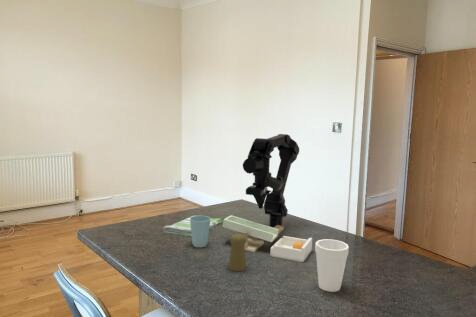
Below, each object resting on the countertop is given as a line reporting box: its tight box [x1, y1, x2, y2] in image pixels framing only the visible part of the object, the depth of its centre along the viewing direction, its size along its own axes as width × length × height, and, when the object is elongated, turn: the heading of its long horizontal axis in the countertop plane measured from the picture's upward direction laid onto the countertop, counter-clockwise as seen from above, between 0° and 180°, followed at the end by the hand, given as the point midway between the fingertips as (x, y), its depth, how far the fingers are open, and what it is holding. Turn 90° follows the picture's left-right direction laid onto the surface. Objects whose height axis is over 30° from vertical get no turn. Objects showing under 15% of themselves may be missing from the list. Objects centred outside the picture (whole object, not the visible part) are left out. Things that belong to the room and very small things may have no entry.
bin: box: [269, 235, 313, 263], centre depth 138 cm, size 12×12×5 cm
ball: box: [293, 242, 303, 250], centre depth 137 cm, size 4×4×4 cm
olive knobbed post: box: [227, 233, 247, 272], centre depth 125 cm, size 6×6×11 cm
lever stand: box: [241, 232, 265, 253], centre depth 145 cm, size 11×8×7 cm
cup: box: [190, 215, 211, 248], centre depth 144 cm, size 8×8×10 cm
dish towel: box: [162, 214, 223, 238], centre depth 166 cm, size 17×23×4 cm
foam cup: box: [314, 238, 350, 293], centre depth 113 cm, size 10×9×13 cm
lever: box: [222, 215, 285, 243], centre depth 149 cm, size 16×20×3 cm
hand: (260, 208), depth 154 cm, fingers closed
